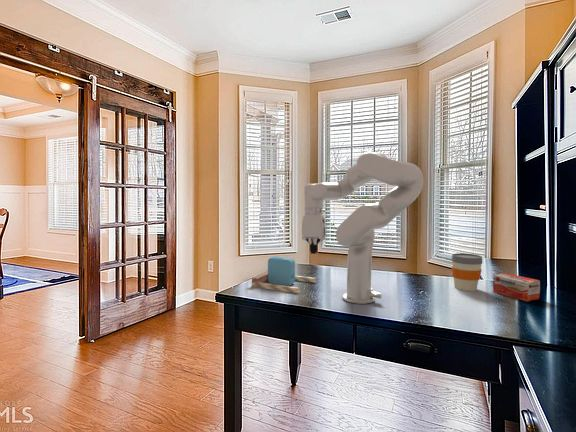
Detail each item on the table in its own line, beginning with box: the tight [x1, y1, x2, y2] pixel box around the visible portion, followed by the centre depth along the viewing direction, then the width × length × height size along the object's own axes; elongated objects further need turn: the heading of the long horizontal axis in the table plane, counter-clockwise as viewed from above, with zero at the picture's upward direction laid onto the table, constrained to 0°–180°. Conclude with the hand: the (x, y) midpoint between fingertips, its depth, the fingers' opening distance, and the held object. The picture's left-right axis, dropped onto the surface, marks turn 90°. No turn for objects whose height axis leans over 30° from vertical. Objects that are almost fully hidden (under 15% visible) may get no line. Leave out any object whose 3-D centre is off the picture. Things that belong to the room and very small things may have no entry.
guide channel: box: [251, 270, 317, 294], centre depth 166 cm, size 23×21×4 cm
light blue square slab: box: [267, 256, 296, 286], centre depth 167 cm, size 12×4×12 cm, turn 64°
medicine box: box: [492, 273, 541, 302], centre depth 152 cm, size 15×8×8 cm, turn 24°
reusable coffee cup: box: [451, 252, 483, 292], centre depth 162 cm, size 13×13×15 cm
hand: (313, 253), depth 159 cm, fingers closed
